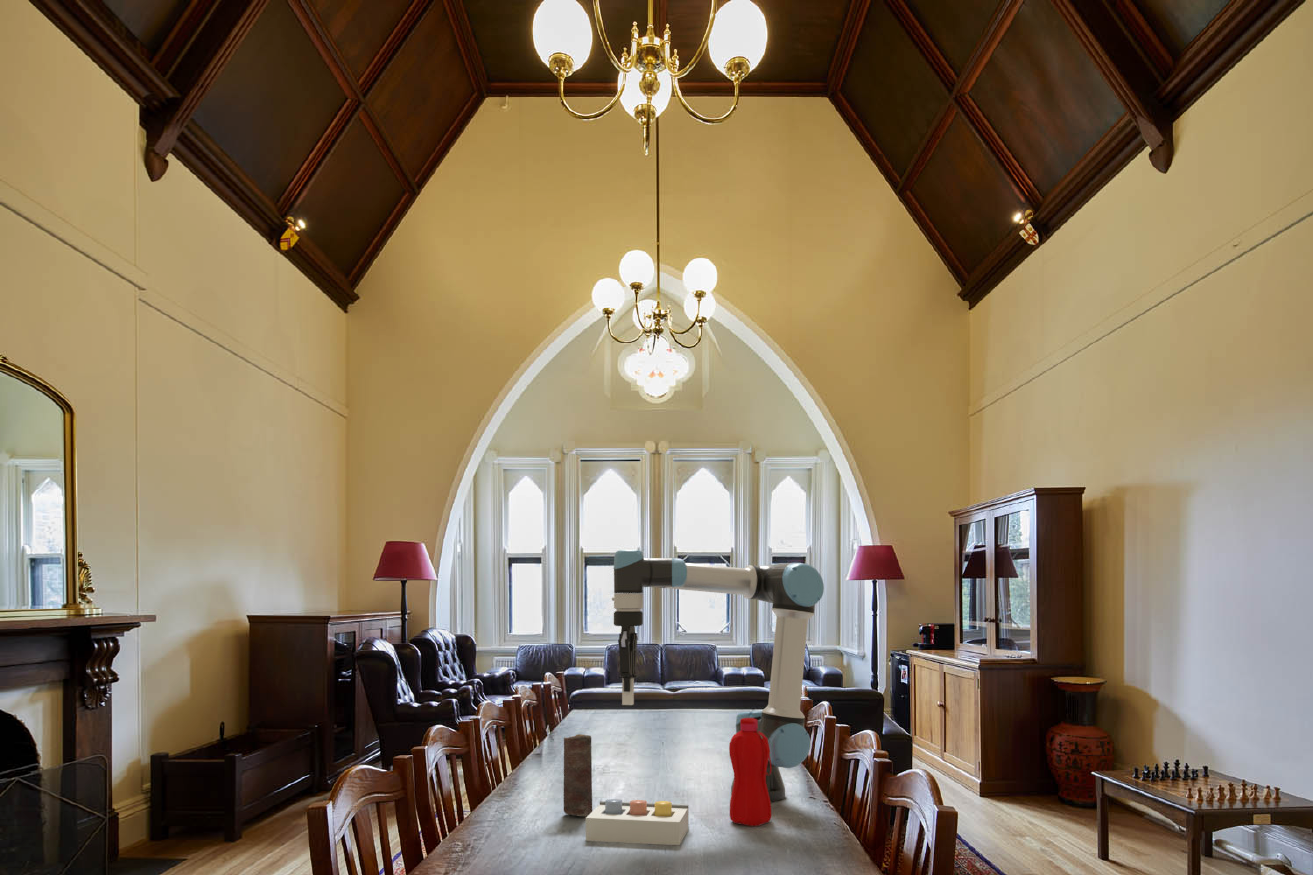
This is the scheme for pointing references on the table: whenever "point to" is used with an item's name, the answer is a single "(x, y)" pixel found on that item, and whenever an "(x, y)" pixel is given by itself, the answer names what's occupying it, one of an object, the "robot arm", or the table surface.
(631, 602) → the robot arm
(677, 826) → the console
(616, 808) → the button slate
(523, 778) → the table surface
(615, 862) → the table surface
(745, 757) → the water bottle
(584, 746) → the brown rounded bar
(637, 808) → the button terracotta
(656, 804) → the button mustard
